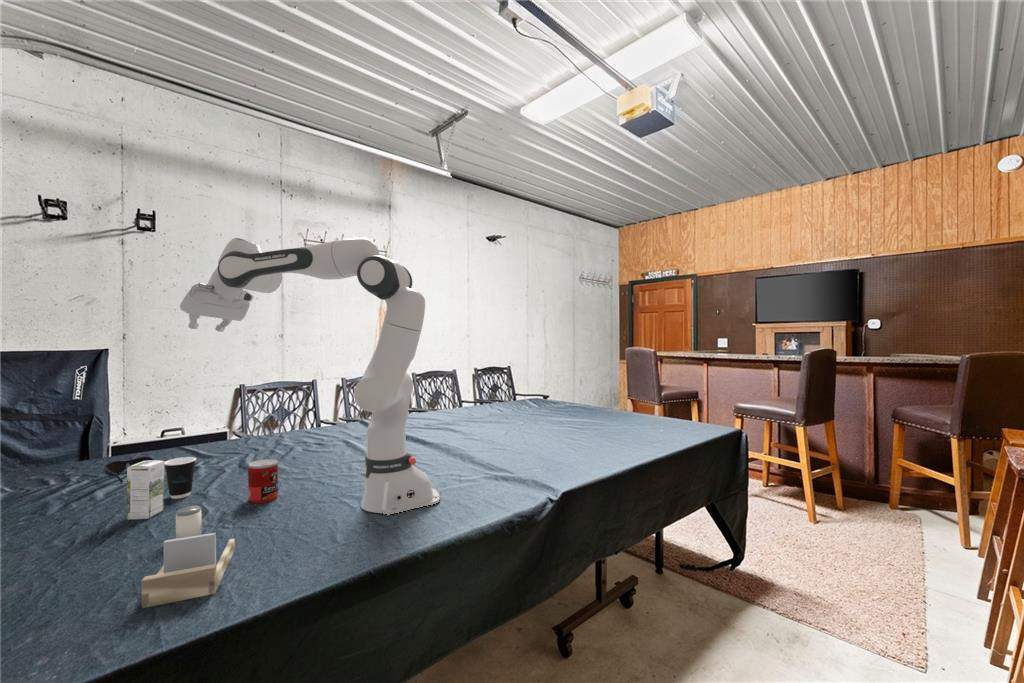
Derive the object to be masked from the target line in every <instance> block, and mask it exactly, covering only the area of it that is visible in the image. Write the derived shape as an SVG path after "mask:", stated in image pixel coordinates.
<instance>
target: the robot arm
mask: <svg viewBox="0 0 1024 683" xmlns="http://www.w3.org/2000/svg"><path fill="white" fill-rule="evenodd" d="M261 248H262V247H261V246H260V245H258V244H257V243H255V242H252V241H250V240H247V239H244V238H239V237H235V238H231V240H229V242H228V243H227V244H226V245H225V247H224V249H223V250H222V252H221V255H220V256H219V258H218V263H217V267H216V268H215V269H214V271H212V274H211V276H210V278H209V280H208V282H207V284H204V283H202V282H198V283H196V284H194V285H192V286H191V287H190V289H189V290H188V291H187V293H186V294H185V295H184V297H183V299H182V301H181V303H180V304H179V308H180V311H182V312H184V313H185V314H188V317H189V318H188V319H189V323H188V325H187V326H188V328H189V329H191V330H197V329H198V327H200V326H199V325H200V324H199V323H198V321H197V320H198V319H200V317H209V318H215V319H221V320H222V321H221V322H220V323H219V324H216V326H215V329H214V330H215V331H216V332H221V333H222V332H223V333H224V331H225V330H226V327H228V326H229V325H230V324H231V323H232V321H236V322H241V321H242V320H244V319H245V318H246V315H247V313H248V310H249V308H250V305H251V302H252V301H253V300H254V295H253V294H252V293H250V292H248V291H252V292H257V293H261V294H264V293H265V294H271V293H273V292H275V291H276V290H278V288H279V287H280V285H281V283H282V280H283V276H282V274H299V275H304V276H310V277H313V278H316V279H321V280H341V279H346V278H347V279H348V278H351V277H355V276H357V280H358V283H359V284H360V286H361V287H362V288H363V289H365V290H366V291H367V292H369V293H370V294H372V295H374V296H375V297H377V298H378V299H379V300H381V301H383V300H384V301H385V304H386V310H385V315H384V318H383V321H382V322H383V323H382V326H381V328H380V329H381V330H380V333H379V337H378V341H377V345H376V347H375V350H374V352H373V355H372V356H371V359H370V361H369V363H368V365H367V367H366V368H365V369H366V370H365V371H364V373H363V375H362V377H361V378H360V380H359V381H358V382H357V383H356V385H355V386H354V389H353V390H354V391H353V397H354V398H353V399H354V402H355V404H356V405H357V406H358V407H359V408H360V409H361V410H362V411H365V412H368V413H369V412H370V413H371V418H370V421H369V424H368V426H367V427H366V456H365V457H364V476H365V484H364V485H365V486H364V491H363V496H362V501H361V504H360V507H361V508H360V509H362V510H363V511H365V512H368V513H375V514H377V513H378V514H382V513H383V514H382V515H385V514H387V515H386V516H391V515H390V514H394V513H398V514H400V513H399V512H402V513H404V512H403V511H406V510H410V509H414V508H419V507H423V506H427V507H429V506H428V505H431V506H434V505H433V504H435V505H437V504H436V503H438V502H440V501H439V500H441V496H440V494H439V491H437V489H436V488H434V487H433V485H432V482H431V478H429V476H428V474H426V473H425V472H424V471H422V470H421V469H419V468H417V467H415V466H414V465H416V464H417V459H416V457H415V456H413V455H412V454H410V453H408V452H406V450H407V448H406V444H407V443H406V442H407V440H406V439H407V438H406V436H407V434H406V433H407V430H406V429H407V421H408V415H409V409H410V405H411V404H410V403H411V397H412V393H413V391H414V381H413V379H412V377H411V376H410V375H409V374H408V373H407V370H408V368H409V367H410V364H411V362H412V361H413V360H414V358H415V356H416V352H417V348H418V344H419V341H420V338H421V333H422V329H423V324H424V320H425V313H426V312H425V311H426V310H425V309H426V299H425V297H424V296H423V295H422V294H421V293H420V292H419V291H417V290H415V289H413V288H412V287H413V278H412V274H411V273H410V271H409V270H408V269H407V267H405V266H403V265H401V264H400V263H398V262H397V261H396V260H393V259H391V258H388V257H386V256H384V255H380V251H379V249H378V248H379V247H377V244H376V243H375V242H374V241H372V239H369V238H367V237H352V238H344V239H337V240H333V241H331V240H330V241H328V242H322V243H318V244H313V245H306V246H301V247H296V248H295V247H293V248H286V249H278V250H272V251H271V250H269V251H262V249H261ZM247 290H248V291H247ZM438 504H439V503H438ZM423 508H424V507H423ZM419 509H420V508H419ZM410 511H411V510H410ZM406 512H407V511H406ZM394 515H395V514H394Z"/></svg>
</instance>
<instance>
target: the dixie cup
mask: <svg viewBox="0 0 1024 683" xmlns="http://www.w3.org/2000/svg"><path fill="white" fill-rule="evenodd" d="M196 460H197V457H193V456H184V457H176V458H172V459H168V460H166V461H164V469H165V473H166V474H165V475H166V480H167V487H168V493H169V496H170V499H173V500H177V499H183V498H187V497H189V496H190V495H191V492H192V490H193V482H194V472H195V465H196V464H195V463H196Z"/></svg>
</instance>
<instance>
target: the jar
mask: <svg viewBox="0 0 1024 683" xmlns="http://www.w3.org/2000/svg"><path fill="white" fill-rule="evenodd" d="M202 521H203V520H202V506H200V505H191V506H186V507H185V506H184V507H183V508H179V509H178V510H176V512H175V539H177V538H184V537H190V536H197V535H203V534H202V530H203V529H202V523H203V522H202Z"/></svg>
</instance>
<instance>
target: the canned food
mask: <svg viewBox="0 0 1024 683" xmlns="http://www.w3.org/2000/svg"><path fill="white" fill-rule="evenodd" d="M278 462H279V461H278V460H277V459H270V458H266V459H260V460H254V461H251V462H249V463H248V466H247V470H248V471H247V473H248V474H247V481H248V484H247V486H248V487H247V488H248V500H249V502H250V503H252V504H264V503H267V502H268V503H269V502H271V501H274V500H275V499H277V497H278V494H279V481H278V480H279V477H278V476H279V465H278Z"/></svg>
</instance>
